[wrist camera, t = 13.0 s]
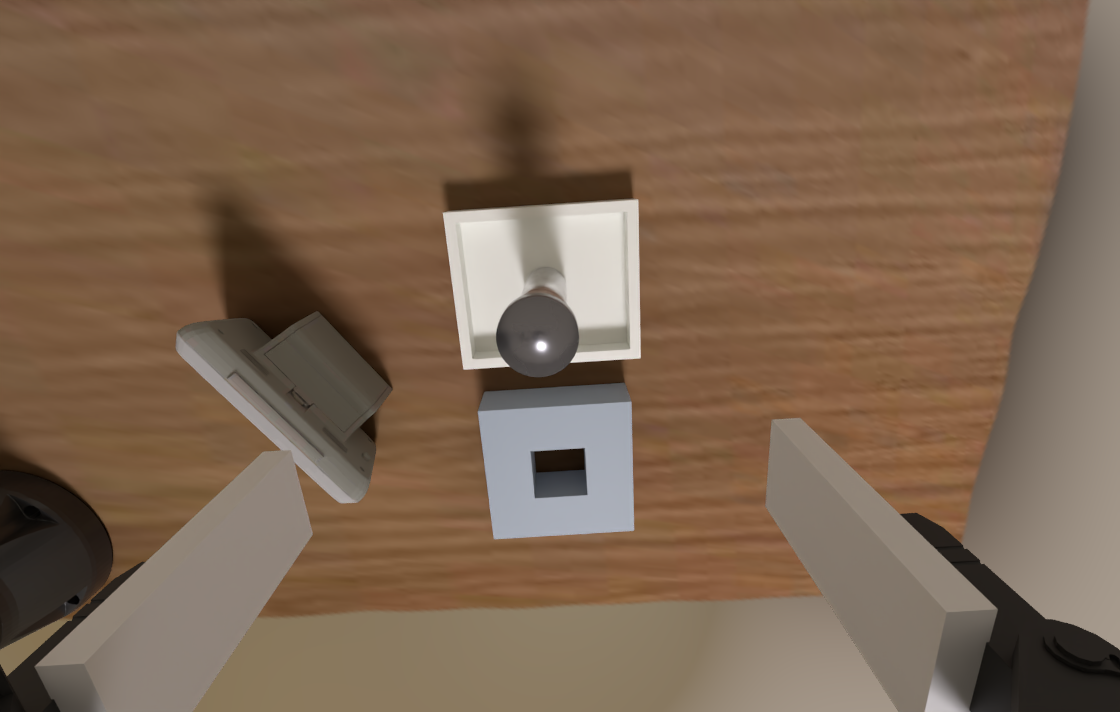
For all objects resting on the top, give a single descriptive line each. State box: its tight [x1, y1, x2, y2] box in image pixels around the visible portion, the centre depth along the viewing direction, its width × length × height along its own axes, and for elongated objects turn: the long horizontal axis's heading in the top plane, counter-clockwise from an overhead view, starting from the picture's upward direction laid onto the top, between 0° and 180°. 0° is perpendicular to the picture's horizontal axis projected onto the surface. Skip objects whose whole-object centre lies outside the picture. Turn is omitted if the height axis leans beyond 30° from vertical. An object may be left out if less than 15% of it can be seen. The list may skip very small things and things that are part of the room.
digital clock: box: [176, 311, 392, 503], centre depth 39 cm, size 16×9×11 cm, turn 26°
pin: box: [496, 267, 579, 377], centre depth 34 cm, size 4×4×14 cm
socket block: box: [478, 383, 634, 539], centre depth 44 cm, size 12×12×4 cm
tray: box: [443, 198, 641, 370], centre depth 40 cm, size 14×12×2 cm
